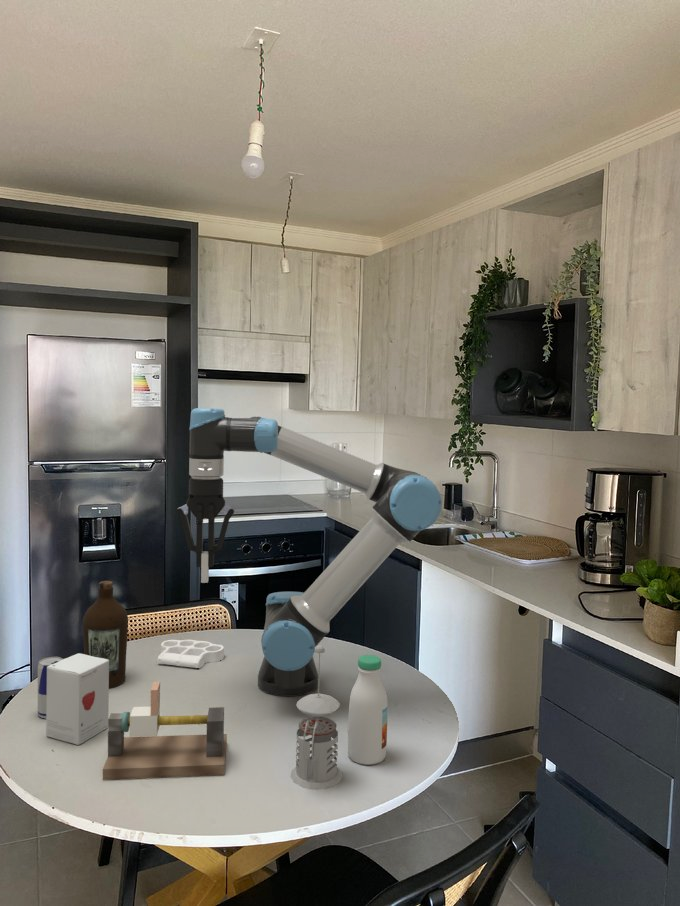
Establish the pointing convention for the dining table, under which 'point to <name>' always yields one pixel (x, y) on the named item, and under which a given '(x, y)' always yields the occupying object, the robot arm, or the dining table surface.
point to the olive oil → (107, 632)
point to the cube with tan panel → (146, 716)
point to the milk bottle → (368, 714)
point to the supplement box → (77, 698)
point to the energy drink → (44, 683)
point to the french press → (317, 741)
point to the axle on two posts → (166, 749)
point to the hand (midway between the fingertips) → (204, 581)
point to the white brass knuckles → (189, 653)
